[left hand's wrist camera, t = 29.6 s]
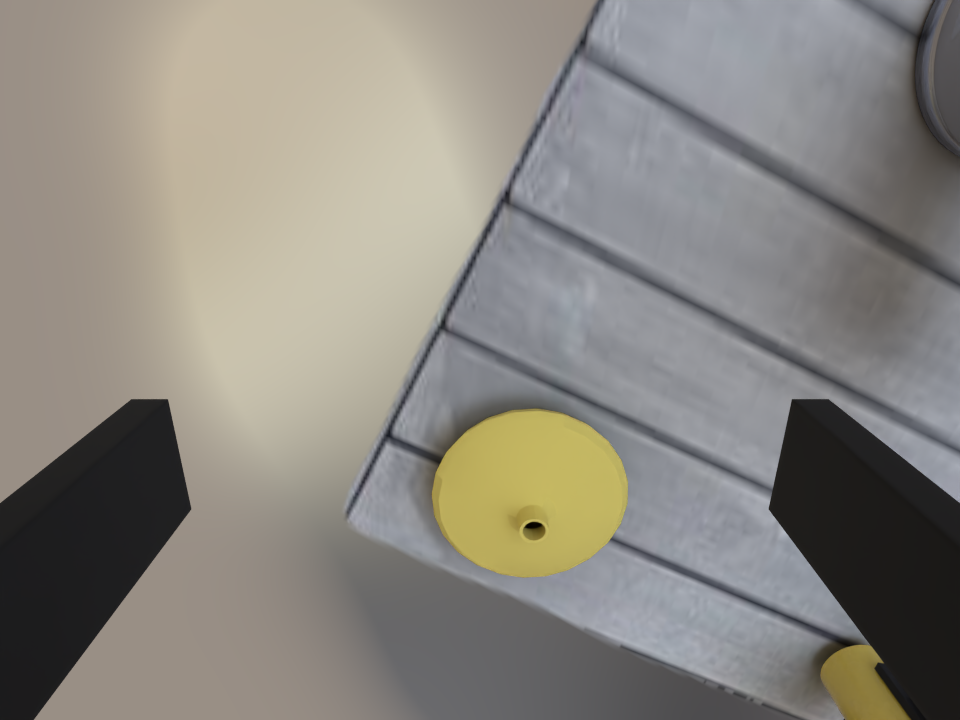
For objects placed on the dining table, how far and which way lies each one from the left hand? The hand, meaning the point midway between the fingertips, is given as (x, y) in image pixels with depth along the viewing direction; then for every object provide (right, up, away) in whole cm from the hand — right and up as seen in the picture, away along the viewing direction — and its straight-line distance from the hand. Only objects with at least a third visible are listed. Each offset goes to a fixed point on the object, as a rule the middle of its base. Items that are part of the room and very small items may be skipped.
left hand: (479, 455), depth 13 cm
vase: (+4, -8, +38) cm, 39 cm away
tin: (+36, -28, +44) cm, 63 cm away
